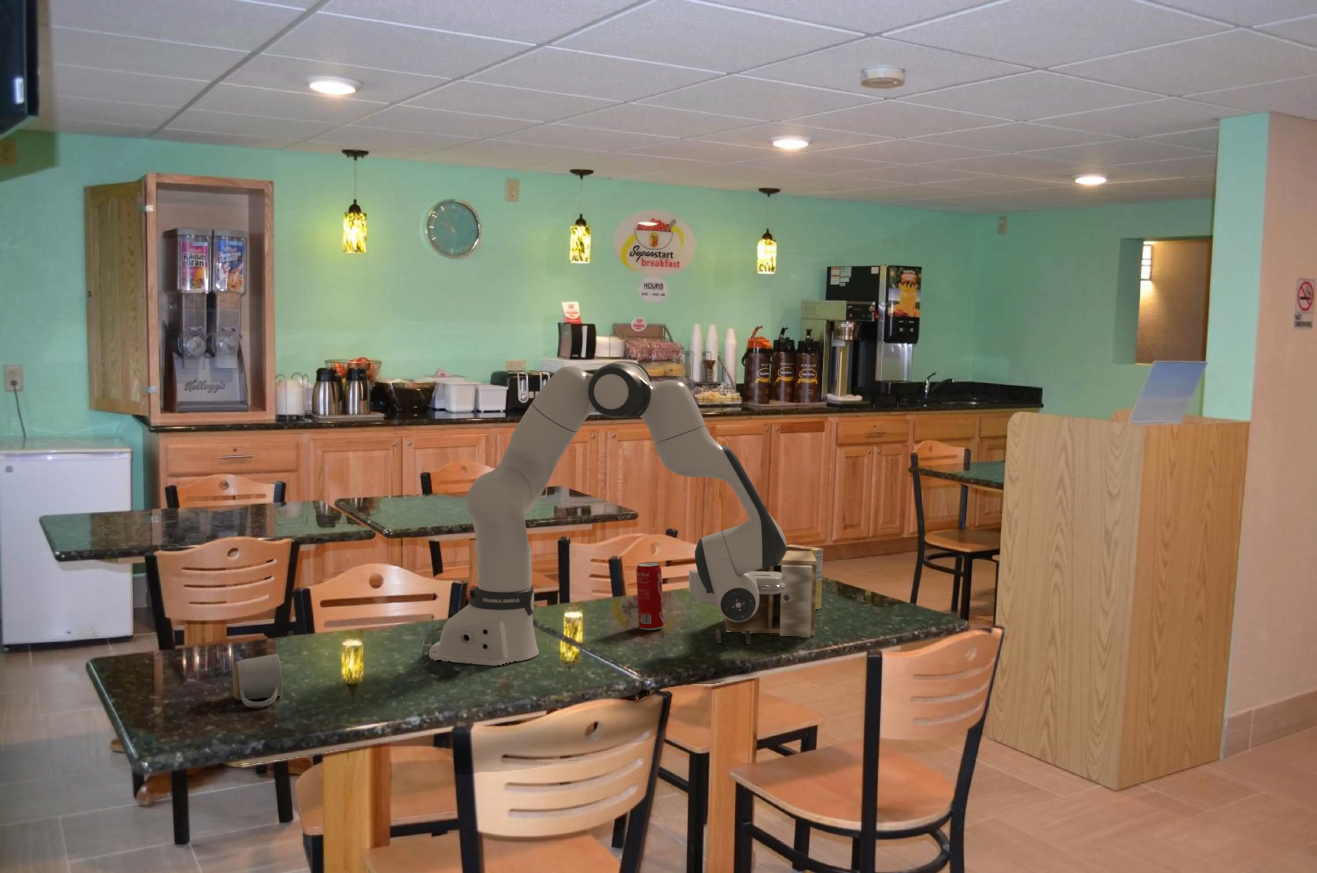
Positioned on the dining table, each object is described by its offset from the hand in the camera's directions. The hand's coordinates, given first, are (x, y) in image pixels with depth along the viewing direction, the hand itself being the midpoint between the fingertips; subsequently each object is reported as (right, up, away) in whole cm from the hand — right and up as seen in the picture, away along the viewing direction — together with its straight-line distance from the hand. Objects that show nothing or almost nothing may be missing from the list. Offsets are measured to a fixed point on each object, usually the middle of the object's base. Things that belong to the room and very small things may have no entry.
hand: (735, 574), depth 247 cm
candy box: (+19, -12, +33) cm, 40 cm away
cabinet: (+7, -14, +7) cm, 17 cm away
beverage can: (-19, -14, +10) cm, 25 cm away
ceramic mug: (-89, -17, -46) cm, 101 cm away
